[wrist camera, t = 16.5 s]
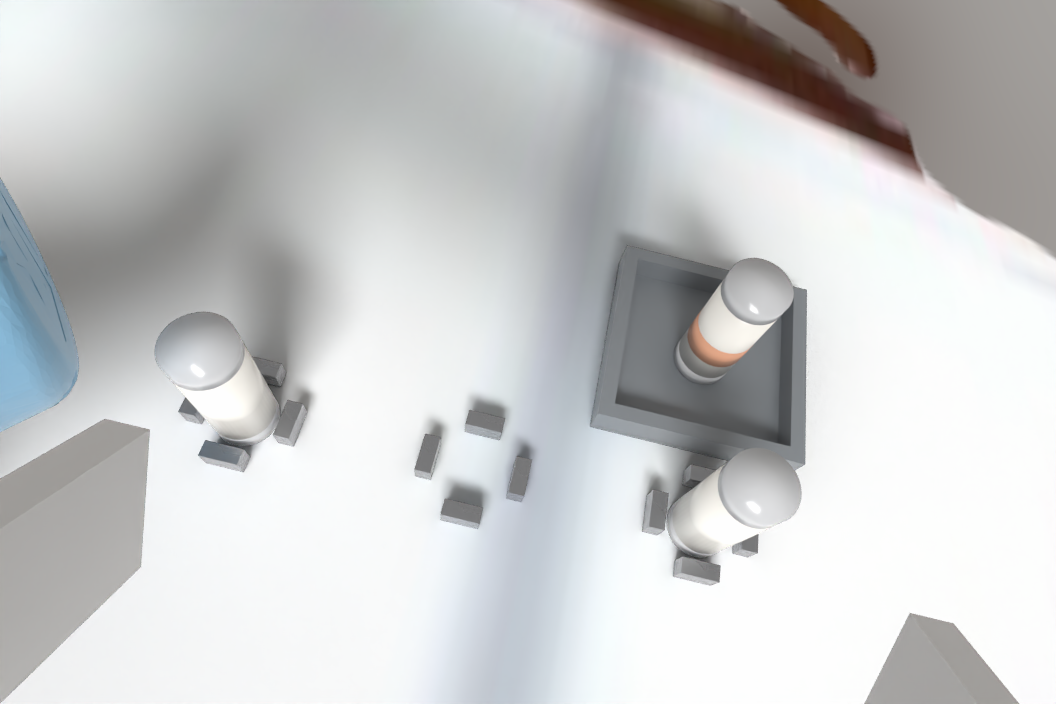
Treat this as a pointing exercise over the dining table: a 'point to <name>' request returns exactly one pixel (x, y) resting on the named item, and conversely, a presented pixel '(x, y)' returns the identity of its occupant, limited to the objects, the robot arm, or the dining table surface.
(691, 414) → the charcoal tray
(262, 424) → the plain fuse
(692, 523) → the plain fuse
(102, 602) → the robot arm
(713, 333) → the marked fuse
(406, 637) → the dining table surface
